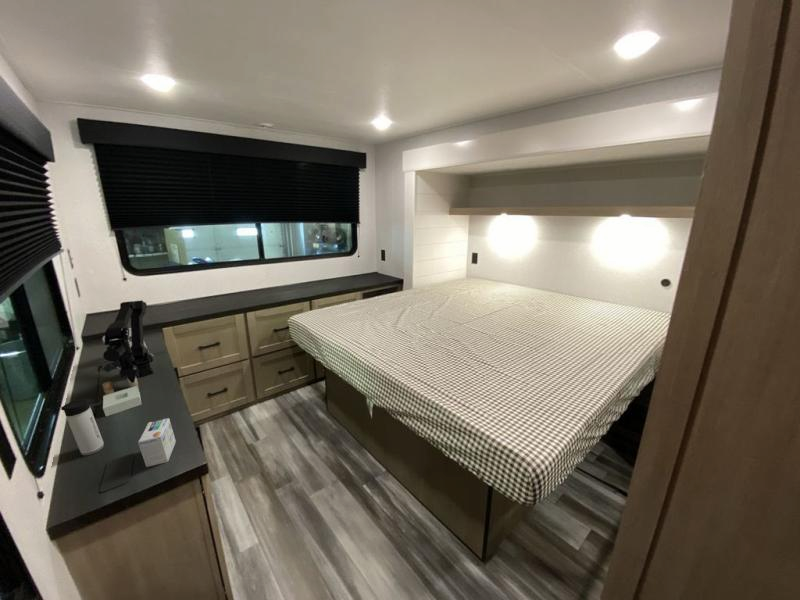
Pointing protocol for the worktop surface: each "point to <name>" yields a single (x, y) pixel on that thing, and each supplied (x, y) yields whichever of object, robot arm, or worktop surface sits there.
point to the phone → (117, 473)
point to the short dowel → (108, 388)
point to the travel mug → (83, 426)
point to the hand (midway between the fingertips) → (132, 380)
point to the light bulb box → (157, 442)
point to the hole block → (121, 400)
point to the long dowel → (133, 383)
